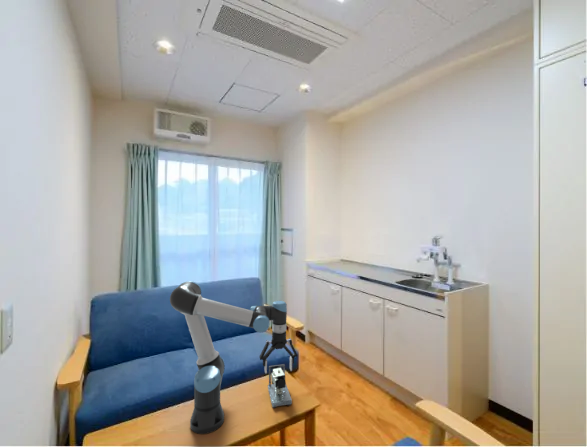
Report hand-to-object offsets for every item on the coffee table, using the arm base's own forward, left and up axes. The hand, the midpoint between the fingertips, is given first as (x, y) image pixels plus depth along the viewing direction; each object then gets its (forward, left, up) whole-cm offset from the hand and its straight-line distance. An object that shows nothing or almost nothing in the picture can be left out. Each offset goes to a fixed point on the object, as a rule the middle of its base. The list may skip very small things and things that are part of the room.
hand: (278, 370), depth 147 cm
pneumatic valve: (0, 0, -12) cm, 12 cm away
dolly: (0, 0, -14) cm, 14 cm away
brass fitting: (0, +15, -14) cm, 21 cm away
